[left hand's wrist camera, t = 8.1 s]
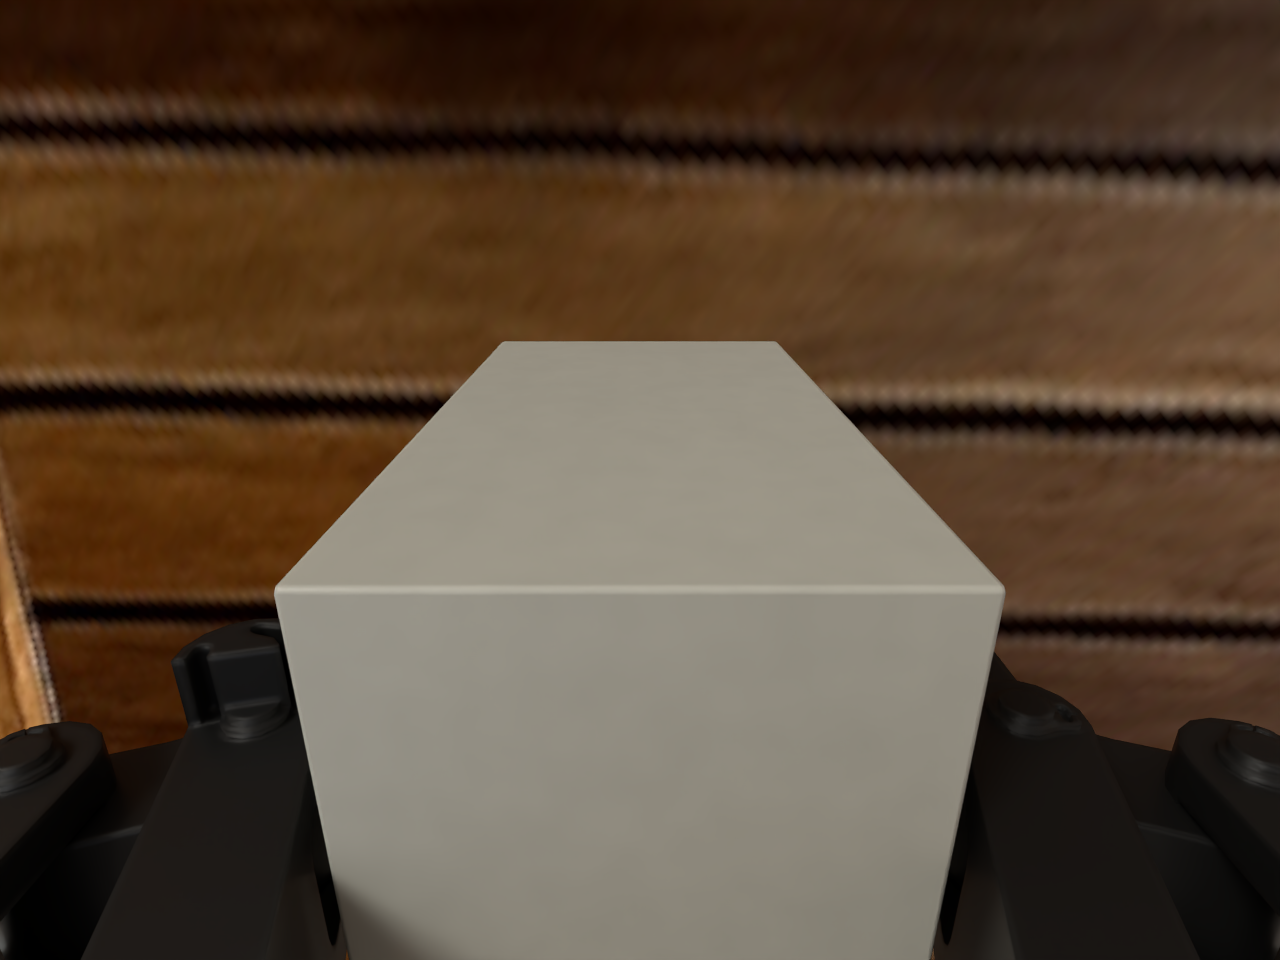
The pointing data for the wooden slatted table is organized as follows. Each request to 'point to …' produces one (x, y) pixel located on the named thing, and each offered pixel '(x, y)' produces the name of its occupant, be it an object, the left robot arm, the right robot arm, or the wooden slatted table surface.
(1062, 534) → the wooden slatted table surface
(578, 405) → the grey bar
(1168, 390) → the wooden slatted table surface
